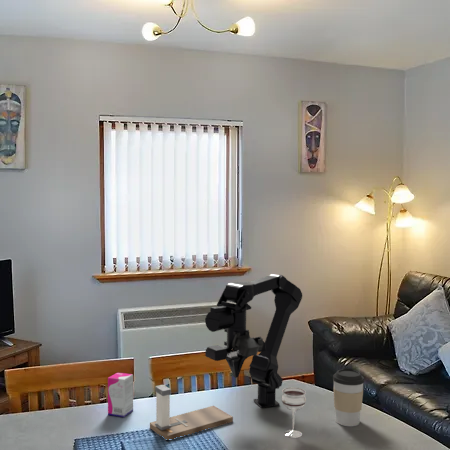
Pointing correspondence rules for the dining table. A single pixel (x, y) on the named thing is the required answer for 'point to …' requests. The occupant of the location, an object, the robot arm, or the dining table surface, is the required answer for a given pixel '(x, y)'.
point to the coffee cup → (348, 396)
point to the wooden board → (193, 422)
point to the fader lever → (162, 407)
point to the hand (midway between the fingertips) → (235, 377)
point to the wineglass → (293, 406)
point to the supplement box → (120, 394)
